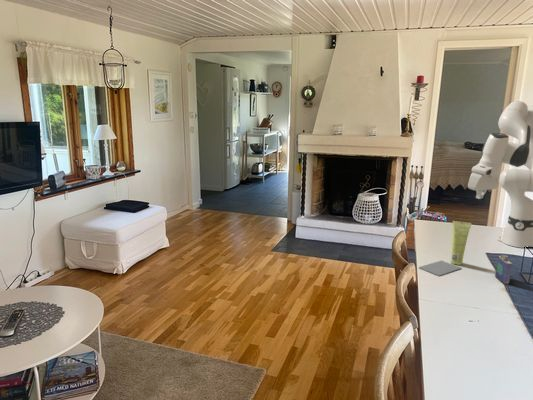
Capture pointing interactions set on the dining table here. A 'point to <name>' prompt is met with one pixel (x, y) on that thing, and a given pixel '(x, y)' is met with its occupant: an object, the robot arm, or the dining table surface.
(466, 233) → the tube
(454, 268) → the felt mat
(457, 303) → the dining table surface
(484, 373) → the dining table surface
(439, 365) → the dining table surface
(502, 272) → the blue purple box
